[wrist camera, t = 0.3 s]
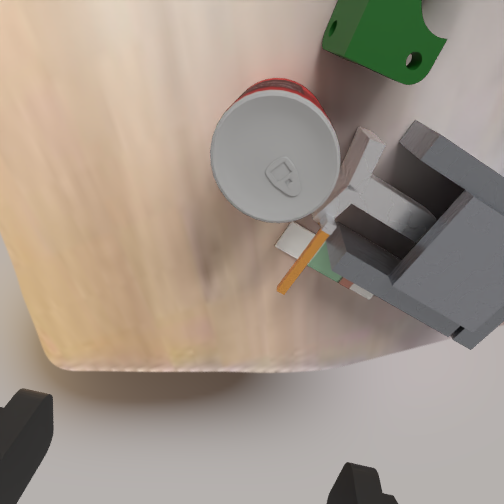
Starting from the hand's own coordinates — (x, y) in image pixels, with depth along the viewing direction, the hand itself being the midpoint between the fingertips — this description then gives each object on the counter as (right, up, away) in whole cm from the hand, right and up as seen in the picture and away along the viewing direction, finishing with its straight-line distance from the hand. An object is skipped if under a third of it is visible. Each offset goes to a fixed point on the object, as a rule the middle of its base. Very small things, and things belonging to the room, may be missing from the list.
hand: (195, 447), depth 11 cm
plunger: (+11, +9, +25) cm, 28 cm away
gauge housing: (+18, +8, +25) cm, 32 cm away
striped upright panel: (+9, +4, +28) cm, 29 cm away
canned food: (+4, +16, +23) cm, 28 cm away
